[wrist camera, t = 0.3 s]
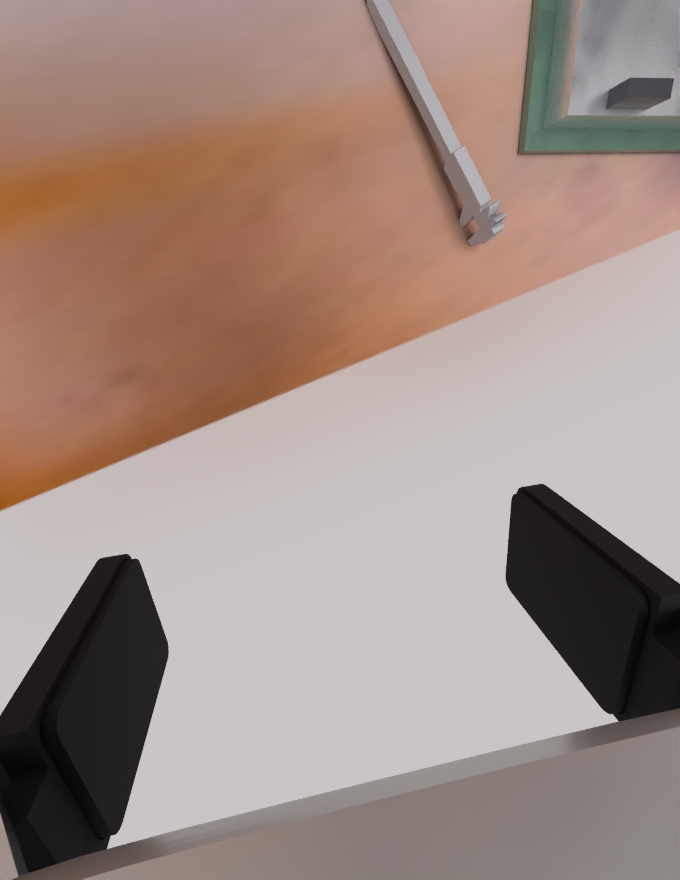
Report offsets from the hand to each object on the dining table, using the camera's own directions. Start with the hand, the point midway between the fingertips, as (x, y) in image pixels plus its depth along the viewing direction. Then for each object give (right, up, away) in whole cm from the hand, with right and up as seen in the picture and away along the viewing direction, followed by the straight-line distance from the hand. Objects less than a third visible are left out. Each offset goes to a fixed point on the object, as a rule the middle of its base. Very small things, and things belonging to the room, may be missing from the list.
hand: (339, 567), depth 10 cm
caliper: (+7, +29, +24) cm, 38 cm away
